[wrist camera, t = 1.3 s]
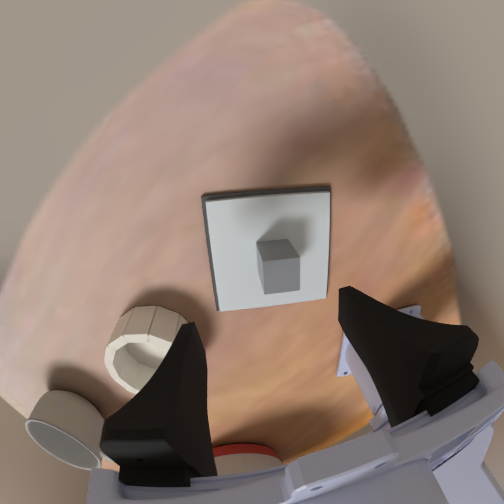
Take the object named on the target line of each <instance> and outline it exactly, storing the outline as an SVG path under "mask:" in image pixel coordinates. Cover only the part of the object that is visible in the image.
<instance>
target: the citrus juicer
mask: <svg viewBox="0 0 504 504" xmlns="http://www.w3.org/2000/svg"><path fill="white" fill-rule="evenodd" d="M212 449H213V454H214V459H215V464H216V469H217V473H218V476H221V475H229V474H237V473H244V472H250V471H256V470H261V469H267V468H272V467H276V466H281V465H283V462H282V460H281V459H280V458H279V456H278V455H277V454H276V453H275V452H274V451H273V450H272V449H271V448H269V447H266V446H263V445H257V444H231V445H224V446H219V447H214V448H212Z"/></svg>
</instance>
